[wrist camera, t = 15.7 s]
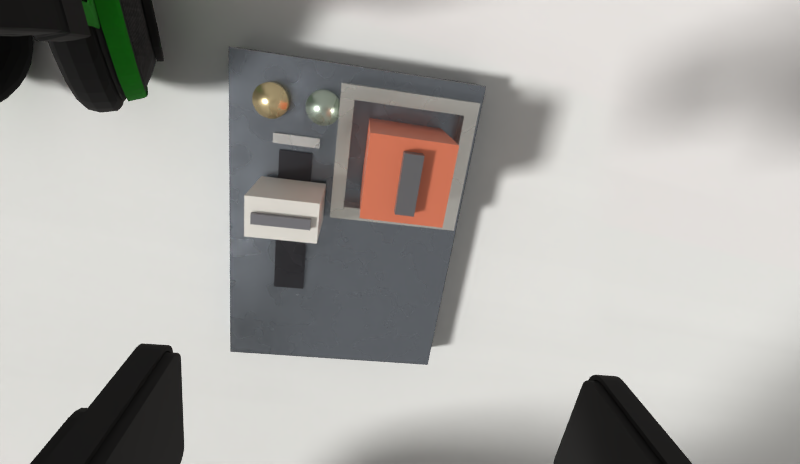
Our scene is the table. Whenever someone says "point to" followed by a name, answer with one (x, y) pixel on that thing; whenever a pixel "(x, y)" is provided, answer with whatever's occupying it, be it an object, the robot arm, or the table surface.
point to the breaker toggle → (284, 209)
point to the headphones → (83, 46)
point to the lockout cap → (407, 173)
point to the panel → (337, 210)
